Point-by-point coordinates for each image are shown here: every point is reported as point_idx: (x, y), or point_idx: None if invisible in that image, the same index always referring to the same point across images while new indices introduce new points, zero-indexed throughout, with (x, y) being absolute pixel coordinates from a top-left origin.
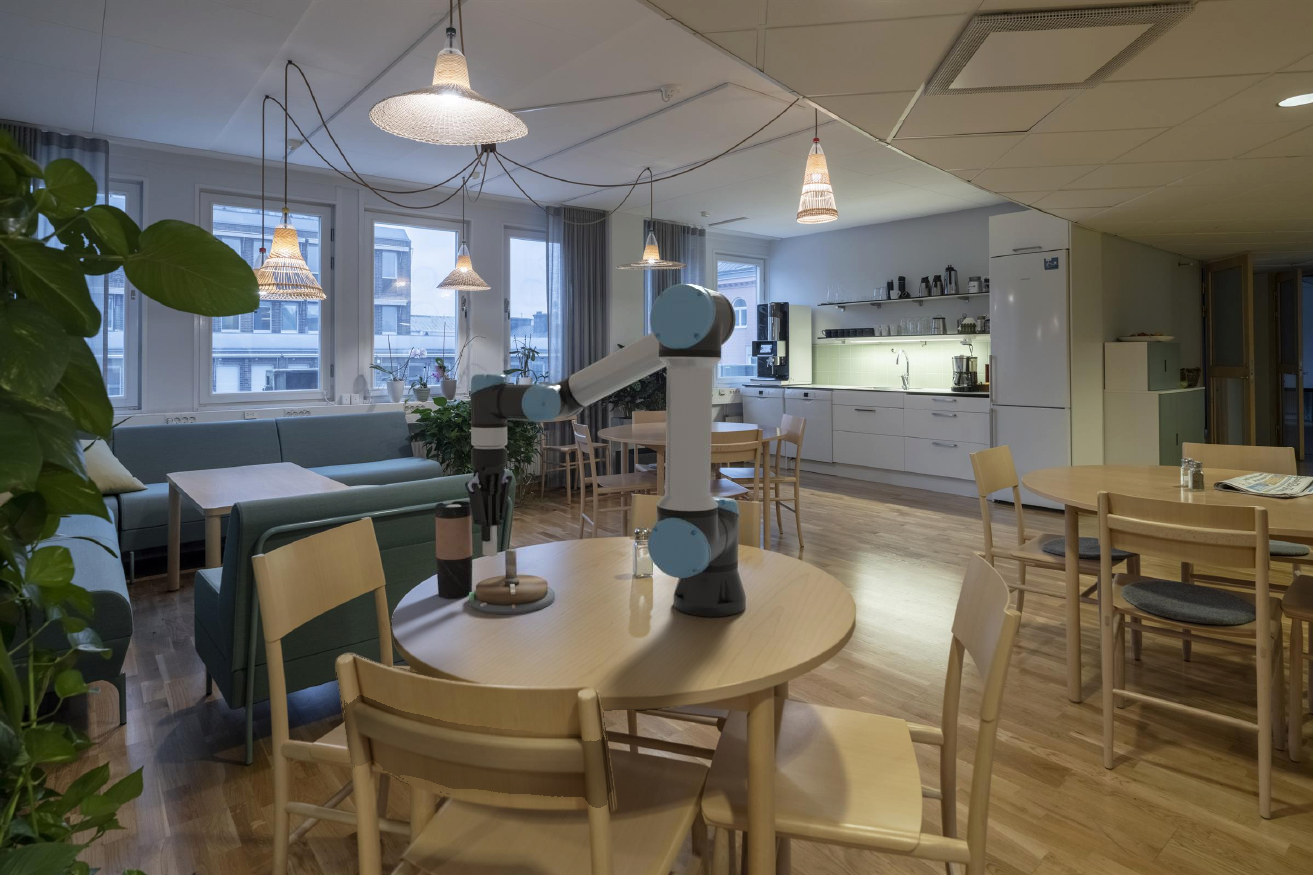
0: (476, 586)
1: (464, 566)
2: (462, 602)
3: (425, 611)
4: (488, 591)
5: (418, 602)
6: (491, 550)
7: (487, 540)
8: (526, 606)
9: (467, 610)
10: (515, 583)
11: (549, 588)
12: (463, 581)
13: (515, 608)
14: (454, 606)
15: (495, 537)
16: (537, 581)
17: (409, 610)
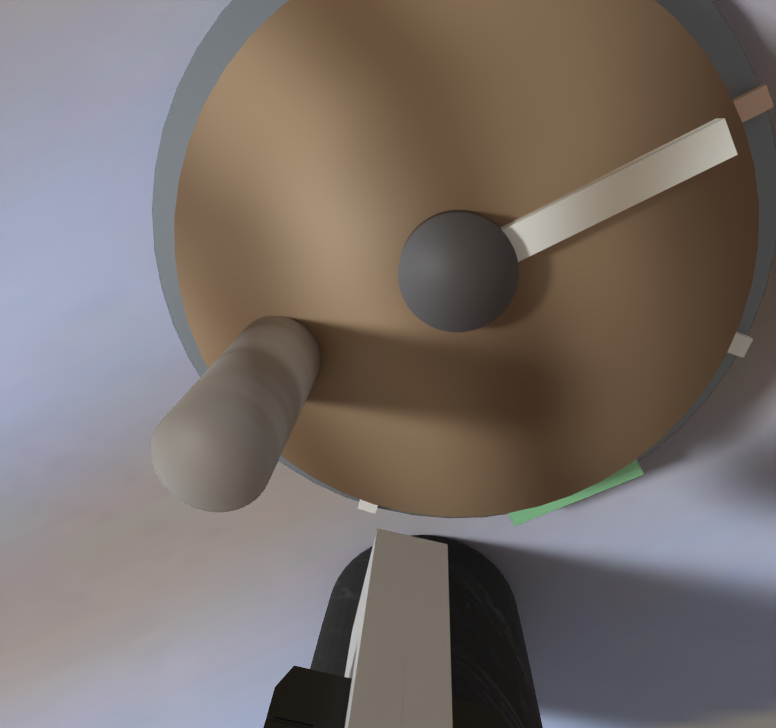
0: (567, 491)
1: (482, 689)
2: (560, 515)
3: (748, 624)
4: (674, 361)
5: (604, 713)
6: (446, 596)
7: (494, 720)
8: (710, 11)
9: (702, 426)
10: (495, 223)
11: (226, 30)
12: (481, 612)
13: (757, 83)
14: (640, 525)
15: (388, 681)
16: (321, 88)
17: (740, 698)
